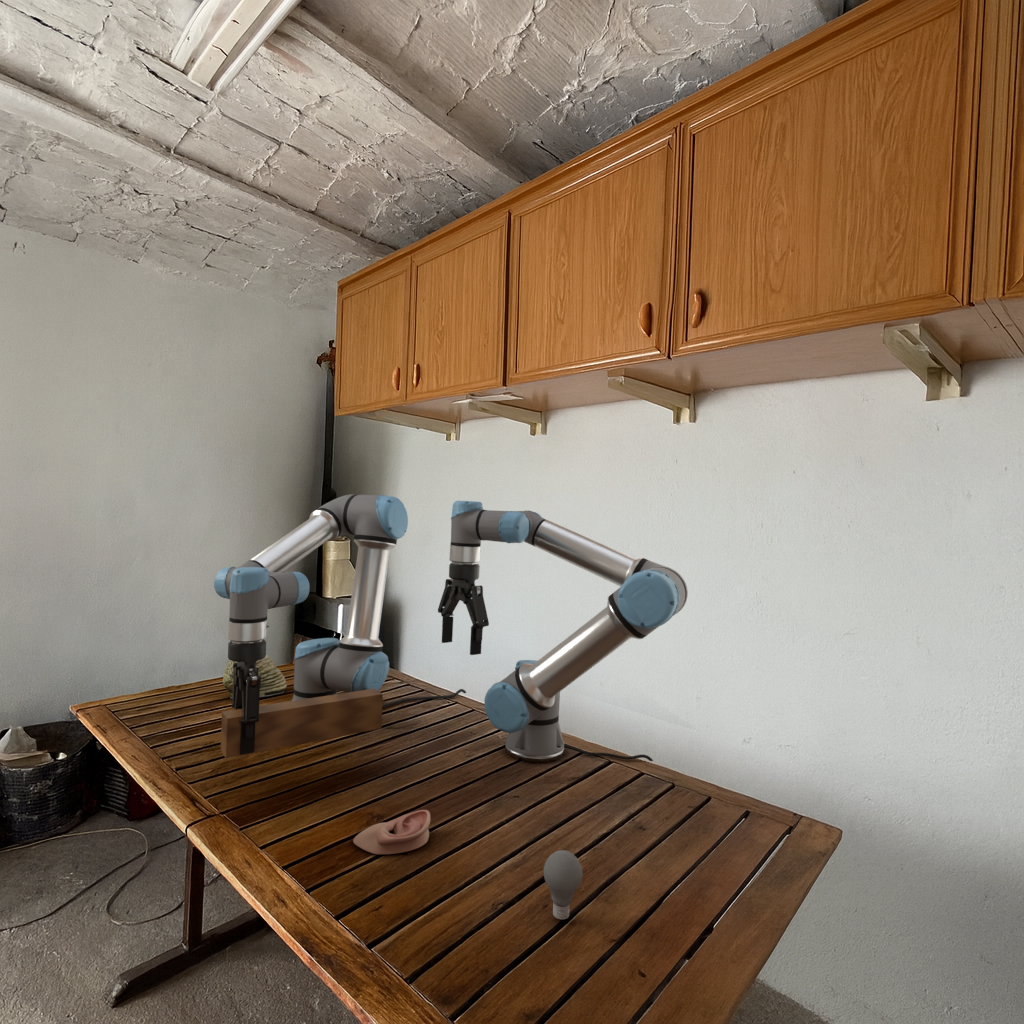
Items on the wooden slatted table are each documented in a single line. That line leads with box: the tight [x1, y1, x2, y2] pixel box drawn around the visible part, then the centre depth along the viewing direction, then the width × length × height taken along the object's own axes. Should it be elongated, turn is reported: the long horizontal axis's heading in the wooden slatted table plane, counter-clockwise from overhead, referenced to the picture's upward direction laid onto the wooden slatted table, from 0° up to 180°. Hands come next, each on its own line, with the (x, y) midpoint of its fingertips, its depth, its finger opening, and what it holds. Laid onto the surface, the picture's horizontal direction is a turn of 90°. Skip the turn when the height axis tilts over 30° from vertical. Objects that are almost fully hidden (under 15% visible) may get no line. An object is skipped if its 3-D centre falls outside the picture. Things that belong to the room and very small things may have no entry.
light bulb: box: [543, 849, 583, 920], centre depth 98 cm, size 6×6×10 cm
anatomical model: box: [352, 809, 431, 856], centre depth 118 cm, size 13×4×12 cm
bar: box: [220, 689, 384, 759], centre depth 144 cm, size 35×5×8 cm, turn 126°
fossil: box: [222, 653, 288, 699], centre depth 198 cm, size 9×18×15 cm, turn 132°
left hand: (243, 747), depth 136 cm, fingers closed on bar, 5 cm apart
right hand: (460, 648), depth 157 cm, fingers open, 13 cm apart
